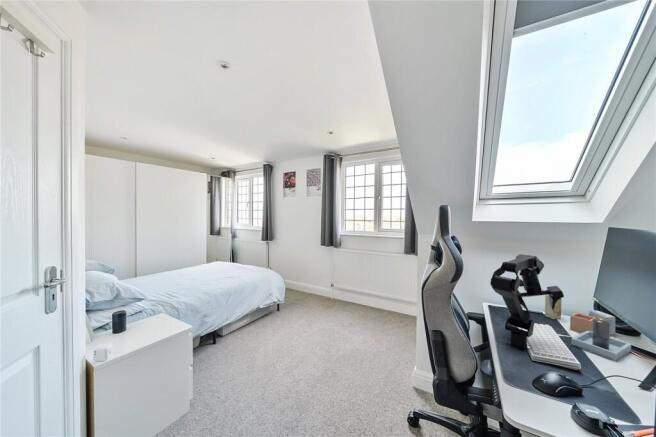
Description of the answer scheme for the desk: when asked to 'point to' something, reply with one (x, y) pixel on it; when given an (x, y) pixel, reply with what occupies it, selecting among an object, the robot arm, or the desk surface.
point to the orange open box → (581, 322)
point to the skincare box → (556, 311)
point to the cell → (601, 333)
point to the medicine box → (607, 317)
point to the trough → (615, 347)
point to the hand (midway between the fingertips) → (539, 310)
